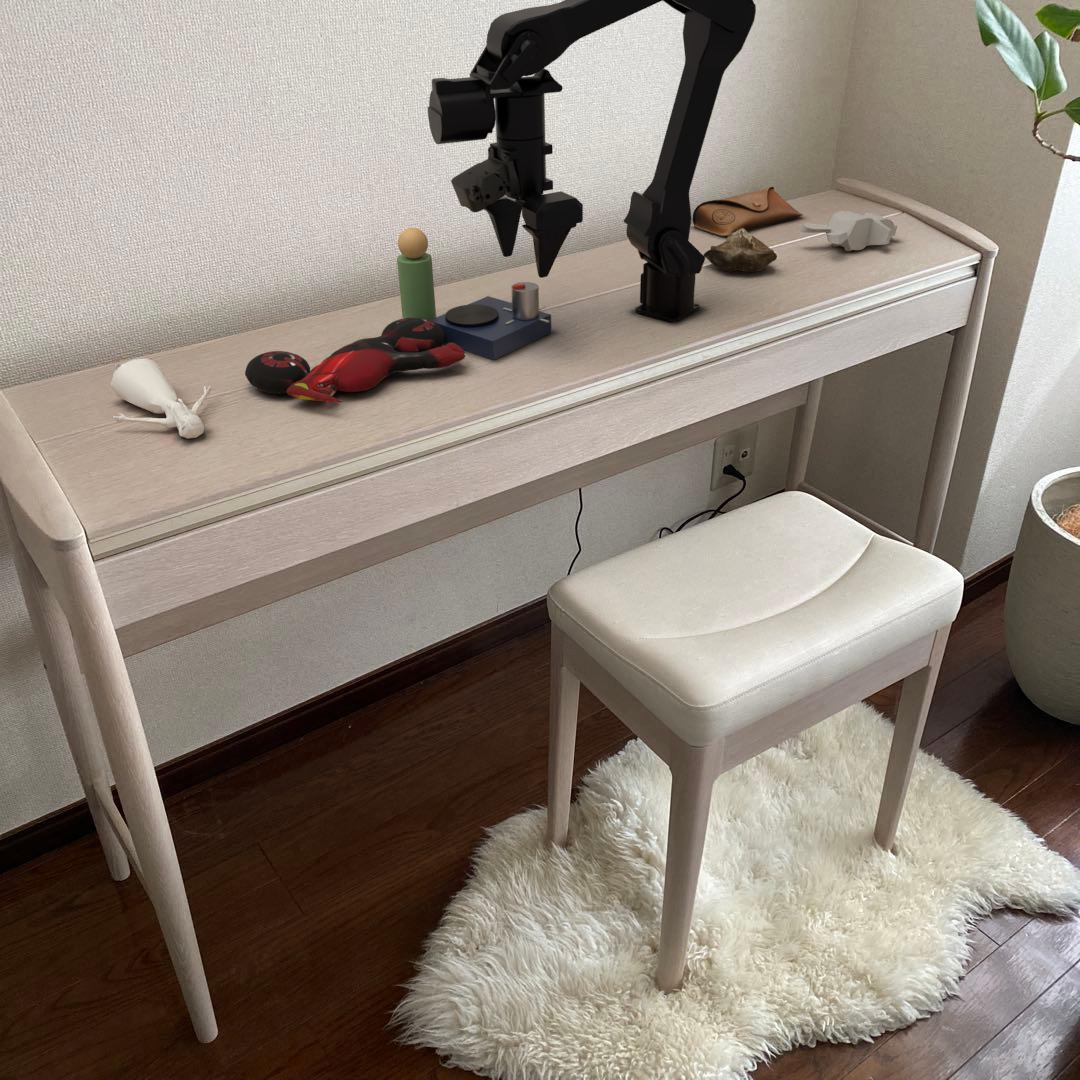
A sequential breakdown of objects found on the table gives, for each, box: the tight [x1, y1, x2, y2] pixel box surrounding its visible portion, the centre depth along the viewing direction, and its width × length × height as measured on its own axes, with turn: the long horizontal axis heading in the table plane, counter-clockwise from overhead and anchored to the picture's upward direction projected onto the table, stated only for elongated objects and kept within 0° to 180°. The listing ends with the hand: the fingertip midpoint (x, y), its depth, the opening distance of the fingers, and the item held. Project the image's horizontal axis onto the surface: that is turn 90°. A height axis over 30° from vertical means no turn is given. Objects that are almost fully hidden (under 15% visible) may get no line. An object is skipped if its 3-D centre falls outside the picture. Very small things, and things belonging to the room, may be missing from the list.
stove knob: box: [511, 281, 540, 320], centre depth 134 cm, size 3×3×4 cm
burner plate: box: [445, 304, 499, 328], centre depth 135 cm, size 7×7×1 cm
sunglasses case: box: [692, 186, 804, 237], centre depth 174 cm, size 18×7×7 cm
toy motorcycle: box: [244, 317, 466, 403], centre depth 125 cm, size 25×5×16 cm
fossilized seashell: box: [703, 228, 778, 273], centre depth 154 cm, size 8×7×10 cm
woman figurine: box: [110, 357, 212, 440], centre depth 118 cm, size 12×4×18 cm
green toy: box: [396, 227, 437, 320], centre depth 136 cm, size 4×4×13 cm
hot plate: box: [431, 295, 552, 361], centre depth 136 cm, size 12×12×3 cm
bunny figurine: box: [799, 210, 898, 252], centre depth 162 cm, size 10×5×15 cm
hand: (524, 266), depth 132 cm, fingers open, 9 cm apart
